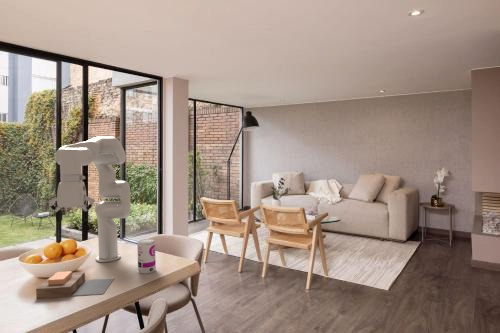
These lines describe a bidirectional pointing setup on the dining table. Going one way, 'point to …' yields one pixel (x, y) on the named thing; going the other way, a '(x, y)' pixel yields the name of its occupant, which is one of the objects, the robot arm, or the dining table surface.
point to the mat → (93, 287)
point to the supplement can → (146, 256)
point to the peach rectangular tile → (60, 278)
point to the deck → (61, 287)
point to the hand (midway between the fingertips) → (72, 220)
